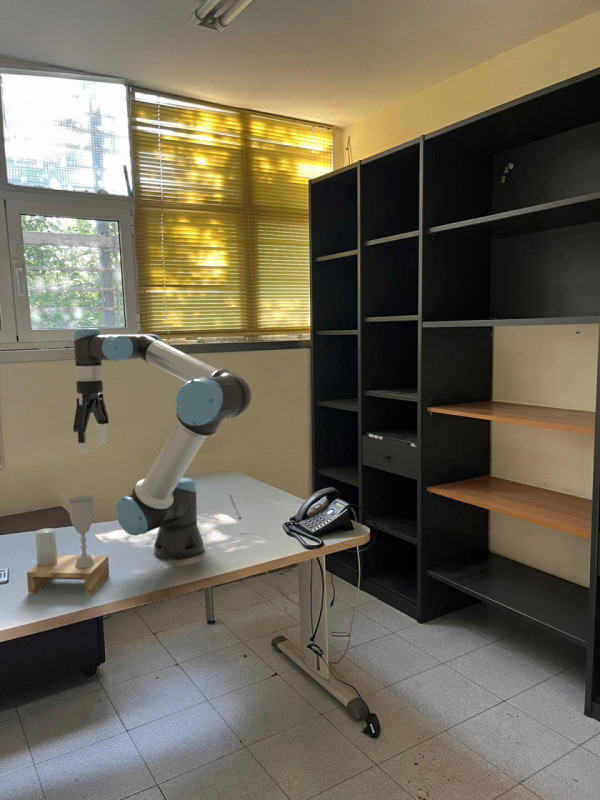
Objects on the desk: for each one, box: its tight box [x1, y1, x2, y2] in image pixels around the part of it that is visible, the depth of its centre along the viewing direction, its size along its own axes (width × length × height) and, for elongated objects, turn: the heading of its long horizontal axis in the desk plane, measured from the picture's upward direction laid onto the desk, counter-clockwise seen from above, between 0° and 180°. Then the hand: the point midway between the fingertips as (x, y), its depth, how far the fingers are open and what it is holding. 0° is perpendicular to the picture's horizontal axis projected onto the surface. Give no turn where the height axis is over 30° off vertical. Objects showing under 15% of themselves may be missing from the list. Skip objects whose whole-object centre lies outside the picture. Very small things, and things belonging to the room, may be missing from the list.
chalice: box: [66, 495, 96, 568], centre depth 158 cm, size 7×7×18 cm
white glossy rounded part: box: [34, 527, 58, 567], centre depth 160 cm, size 5×5×9 cm
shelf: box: [26, 554, 110, 596], centre depth 160 cm, size 17×12×6 cm
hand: (93, 449), depth 180 cm, fingers open, 13 cm apart
